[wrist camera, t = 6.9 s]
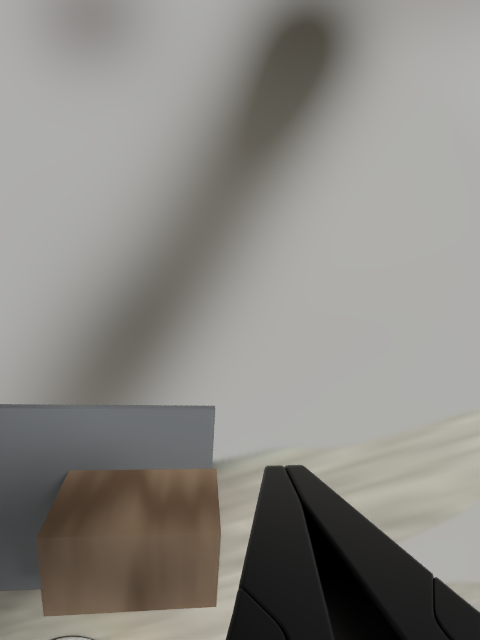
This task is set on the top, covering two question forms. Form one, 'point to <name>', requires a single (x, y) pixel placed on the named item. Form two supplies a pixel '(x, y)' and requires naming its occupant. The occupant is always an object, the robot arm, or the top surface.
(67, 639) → the supplement bottle
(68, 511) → the walnut block
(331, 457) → the top surface
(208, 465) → the gray flat panel
